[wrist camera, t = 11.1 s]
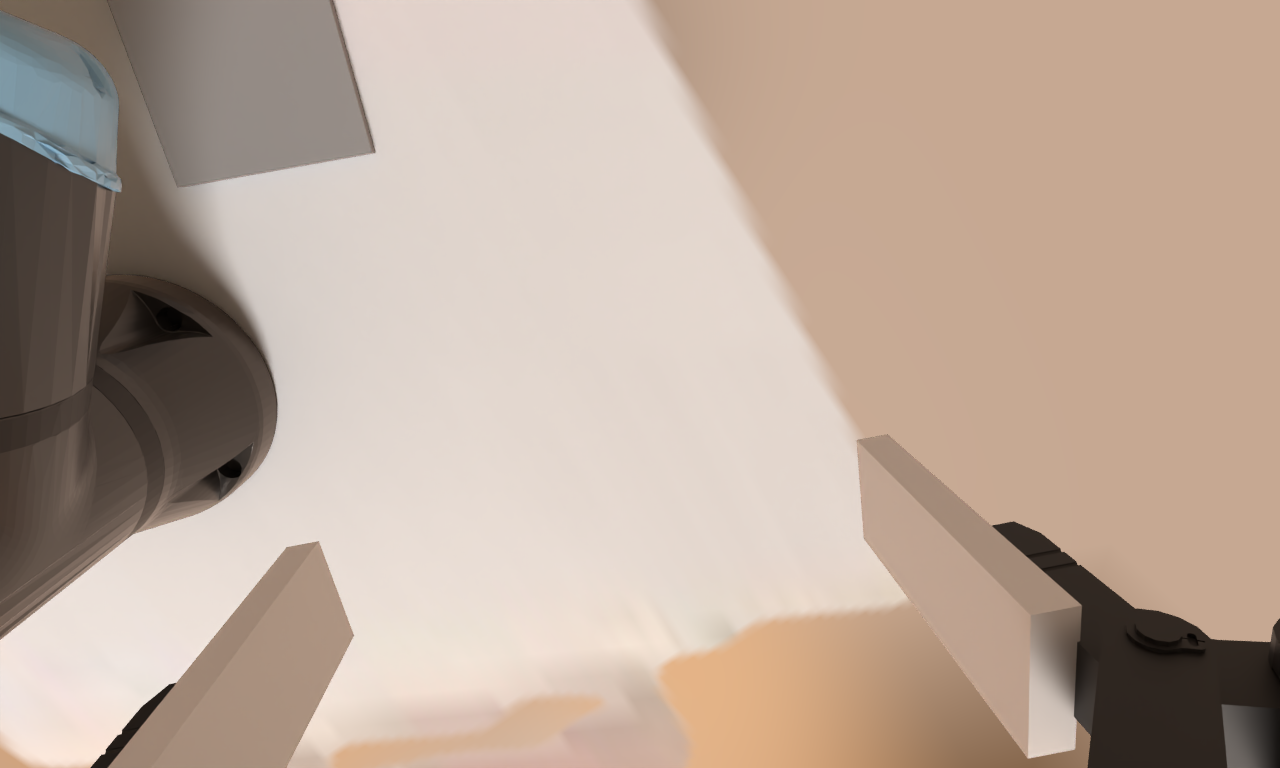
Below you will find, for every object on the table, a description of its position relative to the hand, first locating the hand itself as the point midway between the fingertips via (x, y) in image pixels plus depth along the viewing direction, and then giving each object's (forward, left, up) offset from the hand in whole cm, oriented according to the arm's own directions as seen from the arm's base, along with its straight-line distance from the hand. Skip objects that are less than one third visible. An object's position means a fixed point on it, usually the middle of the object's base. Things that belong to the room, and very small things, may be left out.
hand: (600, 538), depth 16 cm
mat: (-16, +17, -27) cm, 35 cm away
